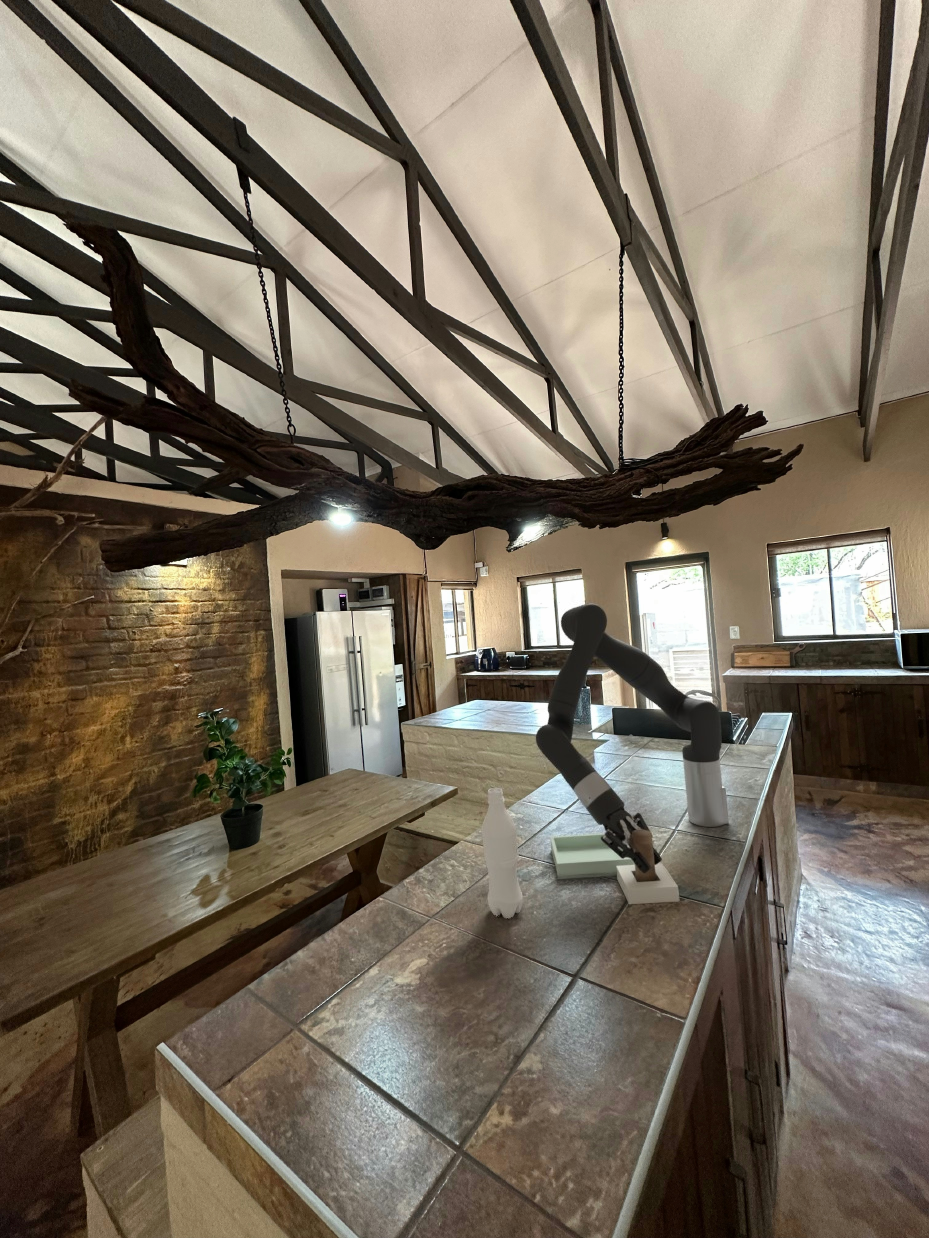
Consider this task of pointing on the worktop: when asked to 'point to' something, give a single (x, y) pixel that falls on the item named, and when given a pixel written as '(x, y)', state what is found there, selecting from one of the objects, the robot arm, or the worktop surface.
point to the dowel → (644, 854)
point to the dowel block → (647, 886)
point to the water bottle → (501, 857)
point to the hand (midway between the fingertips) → (653, 866)
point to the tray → (585, 856)
